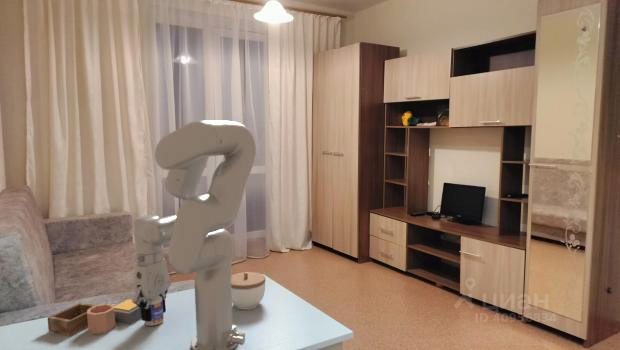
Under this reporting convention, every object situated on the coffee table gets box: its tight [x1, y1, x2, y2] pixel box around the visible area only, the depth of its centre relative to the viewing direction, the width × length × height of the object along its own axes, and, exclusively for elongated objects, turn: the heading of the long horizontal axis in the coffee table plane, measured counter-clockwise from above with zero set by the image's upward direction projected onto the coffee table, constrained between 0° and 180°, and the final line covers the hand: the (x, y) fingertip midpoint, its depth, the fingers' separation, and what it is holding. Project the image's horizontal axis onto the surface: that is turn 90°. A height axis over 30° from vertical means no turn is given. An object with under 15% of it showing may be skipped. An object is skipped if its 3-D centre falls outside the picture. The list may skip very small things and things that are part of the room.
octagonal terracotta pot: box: [87, 303, 116, 335], centre depth 121 cm, size 7×7×6 cm
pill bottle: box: [144, 295, 164, 327], centre depth 124 cm, size 5×5×10 cm
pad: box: [114, 299, 139, 312], centre depth 129 cm, size 6×6×1 cm
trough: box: [47, 302, 97, 337], centre depth 123 cm, size 8×11×4 cm
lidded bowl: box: [231, 271, 266, 311], centre depth 136 cm, size 13×13×11 cm
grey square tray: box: [113, 297, 142, 325], centre depth 129 cm, size 9×9×4 cm
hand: (153, 315), depth 125 cm, fingers closed on pill bottle, 5 cm apart
